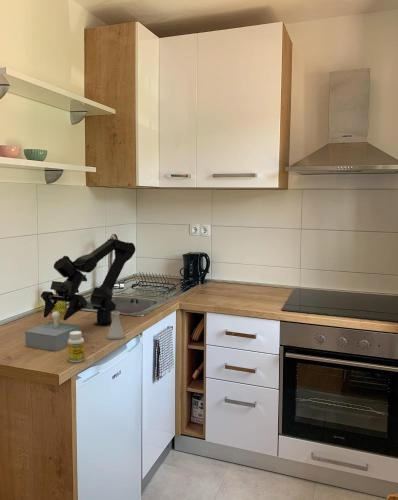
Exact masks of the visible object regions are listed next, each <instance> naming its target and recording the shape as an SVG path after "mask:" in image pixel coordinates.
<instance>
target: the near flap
mask: <svg viewBox="0 0 398 500" xmlns="http://www.w3.org/2000/svg"><path fill="white" fill-rule="evenodd" d="M51 317H52V319H53V321H49V322H47V323H43V324H41V325H39V326H40V327H47V328H54V329H61V330H68V332H70V331H72V330H74V329H76V328H79V327H80V328H81V326H80V324H79V325H78V324H71V323H63V322H59V321H60V320H59V318H60V317H61V313H60V312H59V311H56V310H55V311H53V312H51Z"/></svg>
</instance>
